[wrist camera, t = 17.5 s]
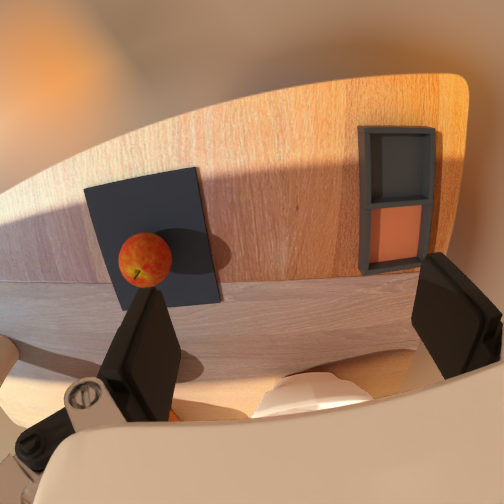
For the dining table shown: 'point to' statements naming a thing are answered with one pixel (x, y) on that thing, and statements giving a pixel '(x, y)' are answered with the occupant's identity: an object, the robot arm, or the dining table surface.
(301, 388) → the bowl
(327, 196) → the dining table surface
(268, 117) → the dining table surface
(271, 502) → the robot arm
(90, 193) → the mat
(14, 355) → the candle
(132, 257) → the fruit
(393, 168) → the tray
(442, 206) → the dining table surface
